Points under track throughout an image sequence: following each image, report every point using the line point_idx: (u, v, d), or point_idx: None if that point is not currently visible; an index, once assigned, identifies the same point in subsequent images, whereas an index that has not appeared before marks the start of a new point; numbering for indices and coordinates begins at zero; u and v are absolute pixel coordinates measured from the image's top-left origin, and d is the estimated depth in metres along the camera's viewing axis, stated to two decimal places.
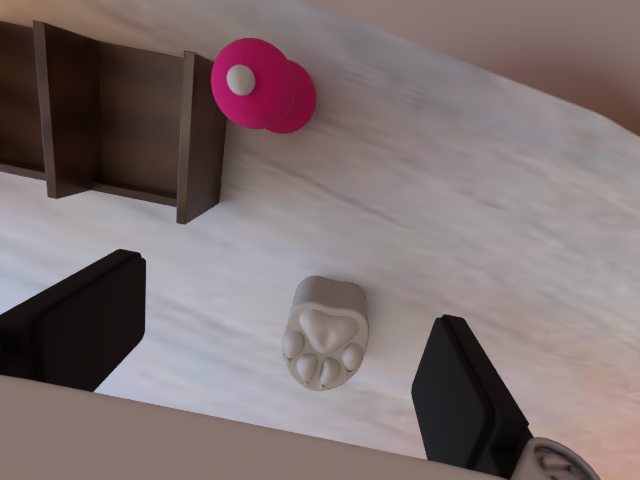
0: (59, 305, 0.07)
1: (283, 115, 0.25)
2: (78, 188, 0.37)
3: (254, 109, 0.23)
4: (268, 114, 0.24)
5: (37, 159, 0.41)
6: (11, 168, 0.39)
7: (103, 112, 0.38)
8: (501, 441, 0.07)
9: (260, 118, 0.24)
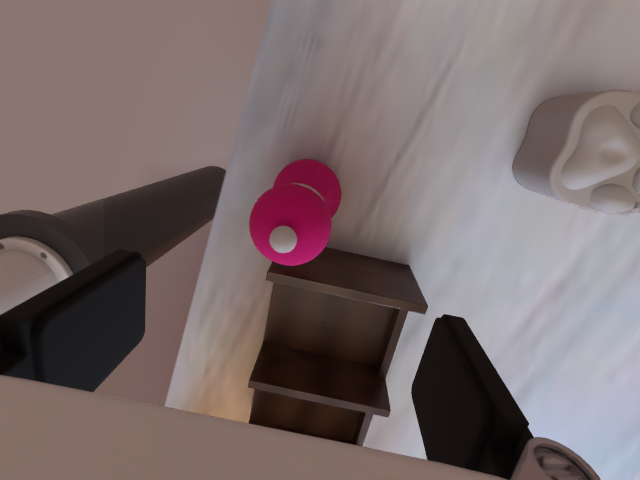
0: (59, 305, 0.07)
1: (318, 198, 0.24)
2: (382, 389, 0.40)
3: (311, 228, 0.23)
4: (316, 214, 0.23)
5: (355, 411, 0.46)
6: (361, 432, 0.45)
7: (318, 351, 0.44)
8: (501, 441, 0.07)
9: (320, 222, 0.23)
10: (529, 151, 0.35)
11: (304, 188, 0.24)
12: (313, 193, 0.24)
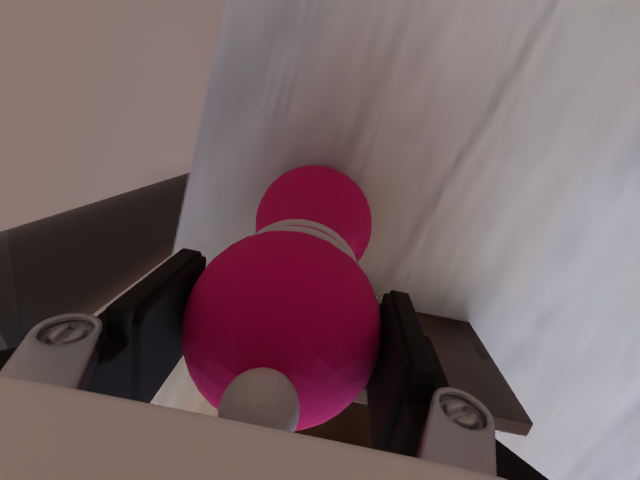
0: (151, 298, 0.08)
1: (351, 269, 0.09)
2: None
3: (337, 362, 0.08)
4: (351, 322, 0.08)
5: None
6: None
7: None
8: (417, 391, 0.07)
9: (360, 342, 0.09)
10: None
11: (316, 246, 0.09)
12: (338, 257, 0.09)
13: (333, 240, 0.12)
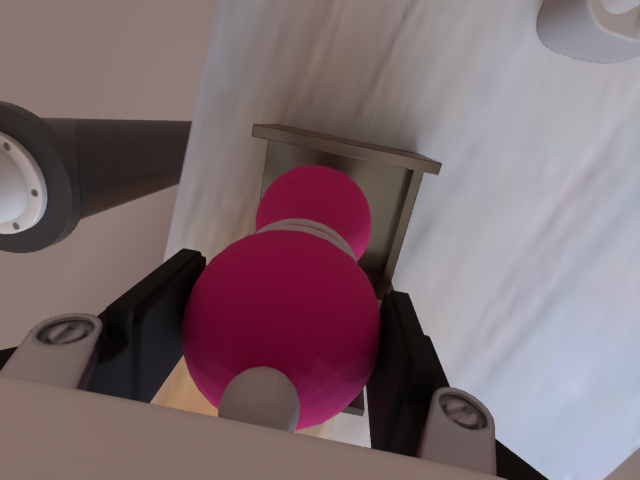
0: (151, 298, 0.08)
1: (351, 268, 0.09)
2: (388, 288, 0.35)
3: (337, 362, 0.08)
4: (351, 321, 0.08)
5: None
6: None
7: None
8: (417, 391, 0.07)
9: (360, 341, 0.09)
10: None
11: (316, 245, 0.09)
12: (338, 257, 0.09)
13: (333, 239, 0.12)
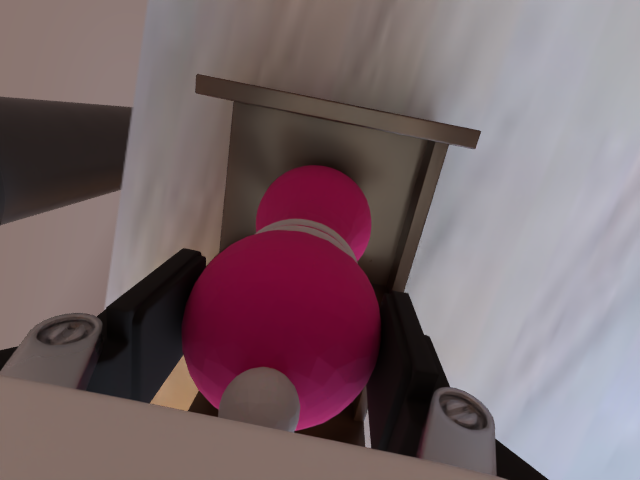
0: (151, 298, 0.08)
1: (351, 268, 0.09)
2: None
3: (337, 362, 0.08)
4: (351, 322, 0.08)
5: None
6: None
7: None
8: (417, 391, 0.07)
9: (360, 341, 0.09)
10: None
11: (316, 245, 0.09)
12: (339, 257, 0.09)
13: (333, 240, 0.12)
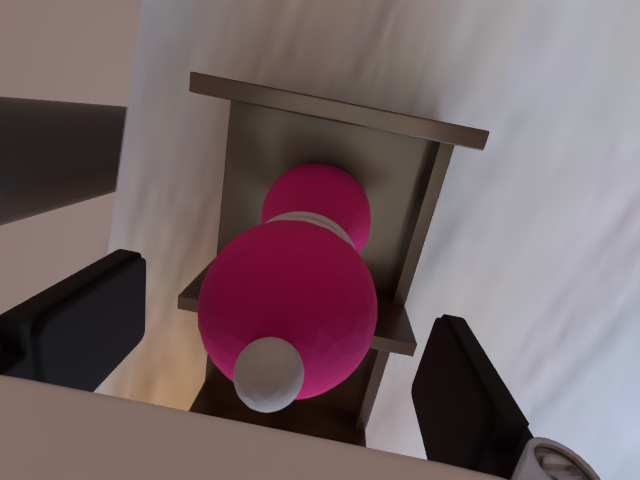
0: (59, 305, 0.07)
1: (350, 254, 0.10)
2: (401, 317, 0.25)
3: (337, 334, 0.09)
4: (350, 299, 0.09)
5: (359, 365, 0.31)
6: (368, 395, 0.30)
7: None
8: (501, 441, 0.07)
9: (357, 317, 0.10)
10: None
11: (318, 232, 0.10)
12: (339, 243, 0.10)
13: (334, 230, 0.13)
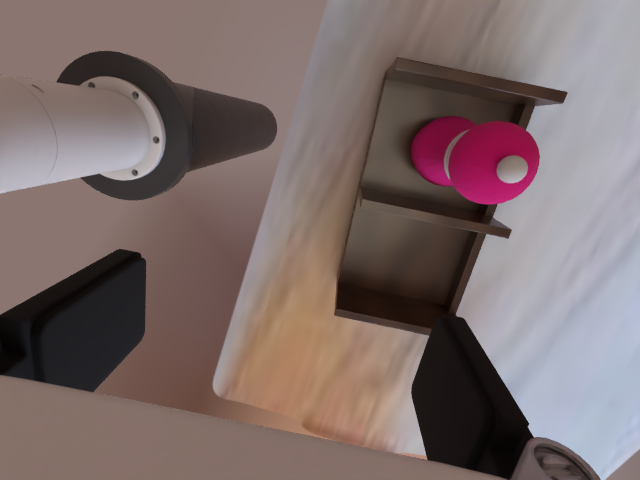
0: (59, 305, 0.07)
1: None
2: (494, 221, 0.38)
3: (531, 160, 0.23)
4: (535, 147, 0.23)
5: (451, 268, 0.45)
6: (460, 286, 0.43)
7: (417, 196, 0.42)
8: (501, 441, 0.07)
9: (537, 156, 0.23)
10: None
11: (514, 124, 0.24)
12: (523, 129, 0.24)
13: None
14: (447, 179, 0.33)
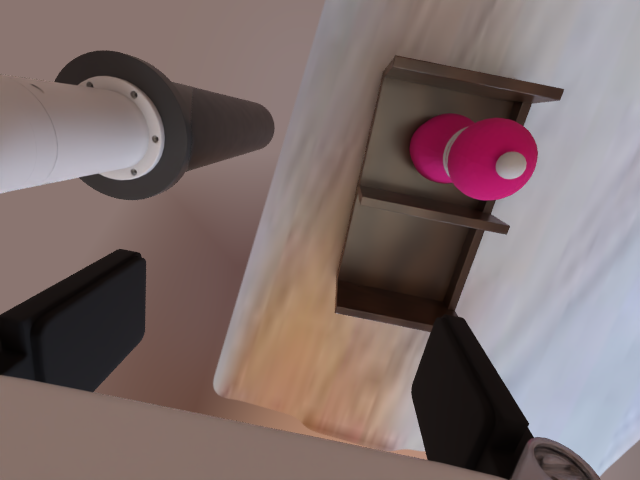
0: (59, 305, 0.07)
1: None
2: (493, 217, 0.39)
3: (530, 156, 0.23)
4: (534, 143, 0.23)
5: (450, 265, 0.45)
6: (459, 282, 0.43)
7: (416, 193, 0.42)
8: (501, 441, 0.07)
9: (535, 152, 0.23)
10: None
11: None
12: None
13: None
14: (446, 176, 0.34)
